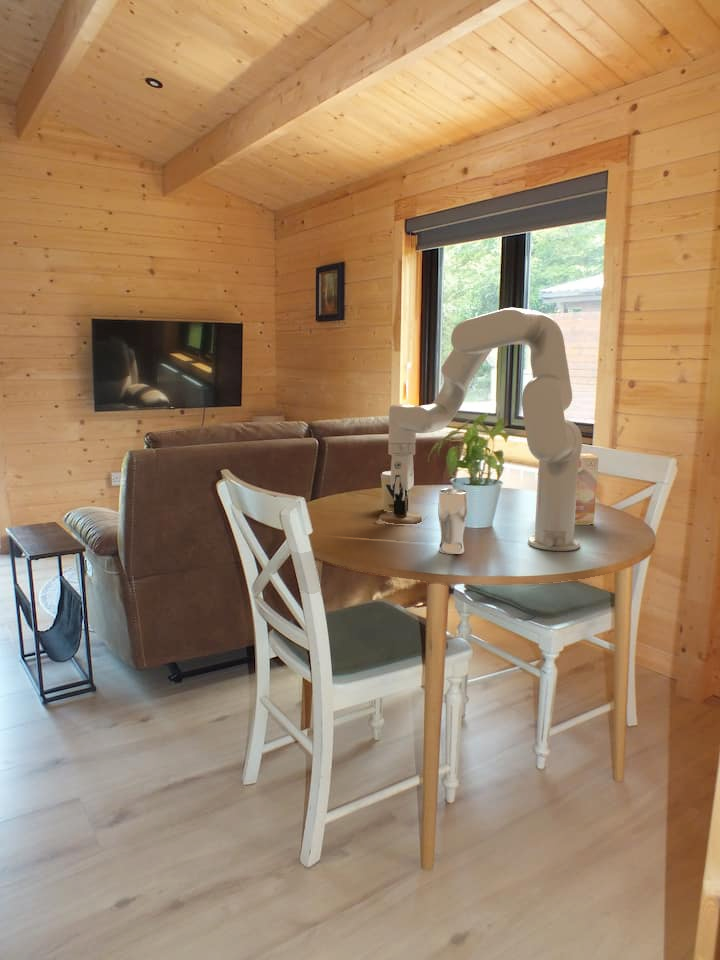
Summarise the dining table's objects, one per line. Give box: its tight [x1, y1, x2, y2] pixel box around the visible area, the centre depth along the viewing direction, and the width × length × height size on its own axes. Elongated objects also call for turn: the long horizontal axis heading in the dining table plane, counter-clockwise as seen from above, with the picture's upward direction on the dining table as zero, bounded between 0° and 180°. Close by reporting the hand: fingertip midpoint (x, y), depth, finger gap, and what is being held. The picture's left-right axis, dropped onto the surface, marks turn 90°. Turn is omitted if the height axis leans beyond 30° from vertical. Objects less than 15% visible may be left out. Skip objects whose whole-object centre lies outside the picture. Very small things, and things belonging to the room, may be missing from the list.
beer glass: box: [437, 488, 468, 555], centre depth 171 cm, size 7×7×15 cm
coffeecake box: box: [538, 453, 599, 526], centre depth 201 cm, size 15×7×20 cm, turn 91°
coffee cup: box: [380, 470, 412, 512], centre depth 213 cm, size 9×9×12 cm
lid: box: [379, 495, 423, 524], centre depth 201 cm, size 12×12×7 cm
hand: (400, 512), depth 201 cm, fingers closed on lid, 3 cm apart
